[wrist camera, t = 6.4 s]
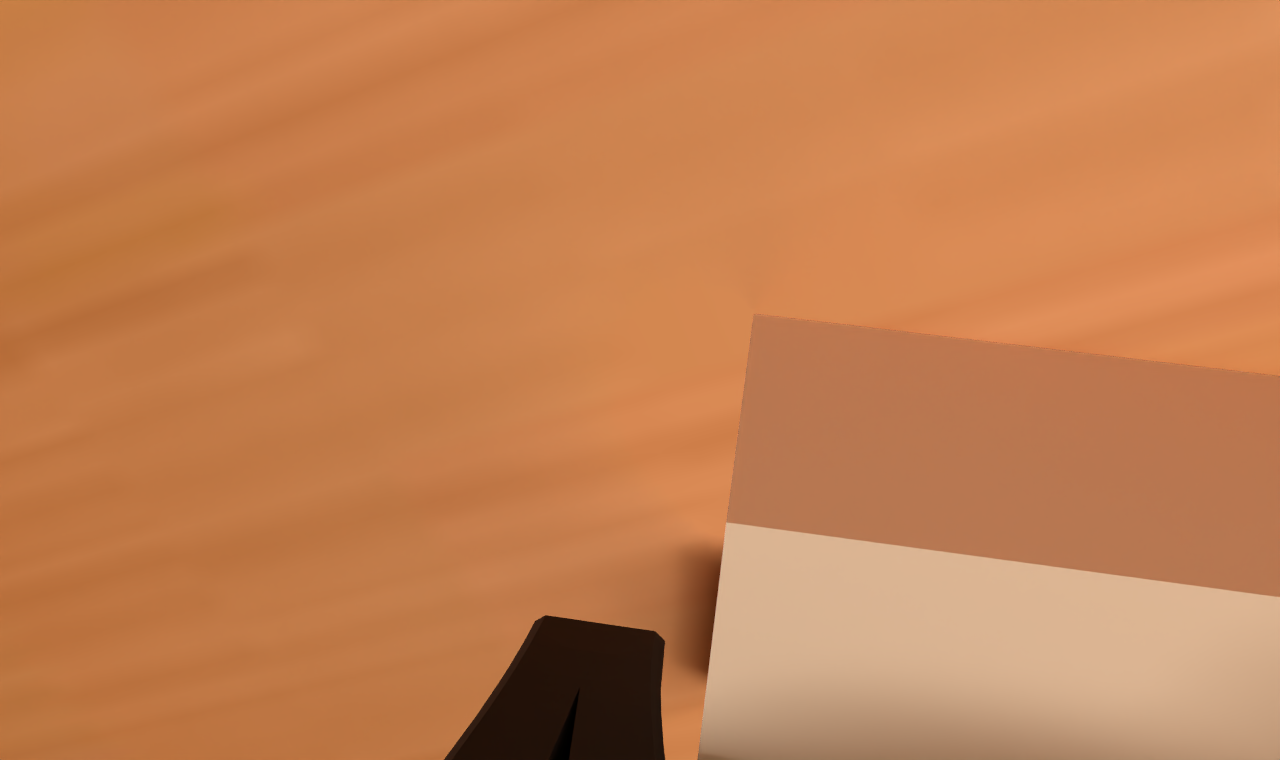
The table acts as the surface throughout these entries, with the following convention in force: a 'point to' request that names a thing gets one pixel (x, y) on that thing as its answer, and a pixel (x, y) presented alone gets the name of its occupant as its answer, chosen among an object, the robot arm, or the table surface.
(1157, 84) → the table surface
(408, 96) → the table surface
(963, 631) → the wooden block
